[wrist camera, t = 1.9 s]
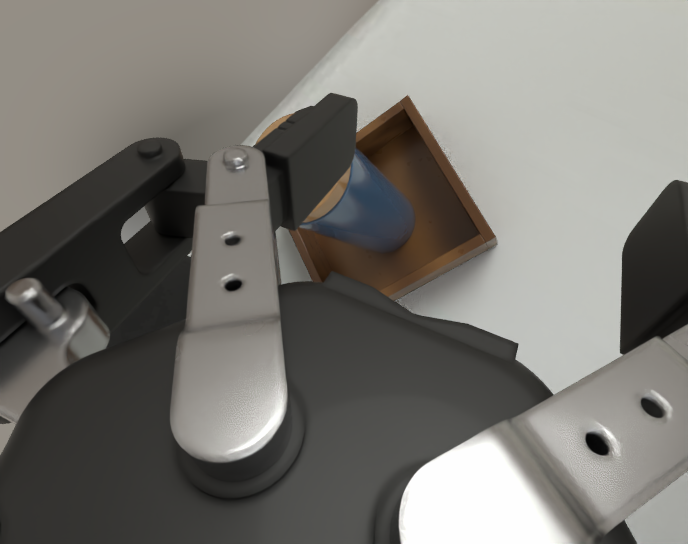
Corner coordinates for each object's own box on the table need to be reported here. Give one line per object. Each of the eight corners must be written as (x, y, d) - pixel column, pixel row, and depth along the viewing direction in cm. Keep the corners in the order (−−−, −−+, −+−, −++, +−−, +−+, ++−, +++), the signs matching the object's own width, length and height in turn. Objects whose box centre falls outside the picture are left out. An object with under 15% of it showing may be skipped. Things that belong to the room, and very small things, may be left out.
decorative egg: (209, 239, 44) (71, 211, 30) (286, 301, 40) (166, 302, 26) (160, 328, 46) (11, 340, 32) (228, 397, 42) (89, 445, 28)
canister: (395, 175, 35) (313, 86, 21) (427, 231, 34) (364, 179, 19) (342, 211, 37) (231, 153, 22) (369, 265, 36) (271, 242, 21)
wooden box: (418, 116, 35) (407, 94, 32) (497, 244, 32) (495, 237, 28) (294, 204, 40) (271, 194, 36) (351, 324, 37) (333, 326, 33)
